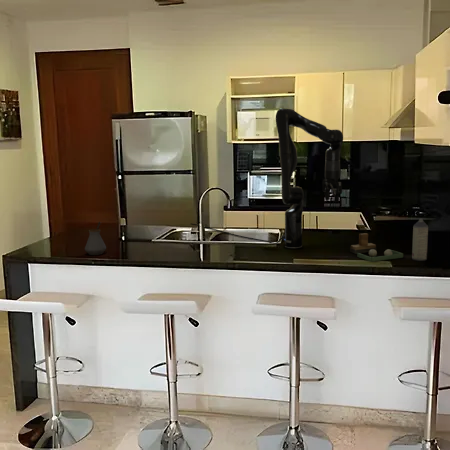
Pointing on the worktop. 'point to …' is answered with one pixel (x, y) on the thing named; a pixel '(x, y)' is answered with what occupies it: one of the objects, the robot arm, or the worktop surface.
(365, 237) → the brown t-shaped block
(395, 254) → the corral
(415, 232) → the aerosol can
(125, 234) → the worktop surface
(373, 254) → the paper ball
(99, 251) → the coffee pot
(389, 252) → the paper ball
